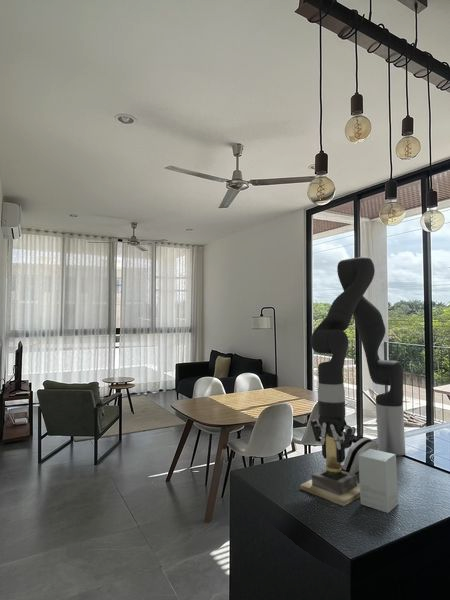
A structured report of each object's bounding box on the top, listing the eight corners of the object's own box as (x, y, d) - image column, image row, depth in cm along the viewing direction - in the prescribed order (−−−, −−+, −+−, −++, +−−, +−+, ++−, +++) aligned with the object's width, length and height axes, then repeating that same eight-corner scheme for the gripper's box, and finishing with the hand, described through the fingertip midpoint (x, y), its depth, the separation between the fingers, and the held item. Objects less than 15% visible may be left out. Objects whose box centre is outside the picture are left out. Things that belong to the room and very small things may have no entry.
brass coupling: (331, 467, 108) (330, 432, 109) (344, 471, 105) (343, 435, 106) (323, 471, 106) (322, 435, 107) (336, 475, 103) (334, 438, 103)
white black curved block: (360, 457, 131) (368, 431, 130) (372, 464, 128) (381, 438, 127) (337, 470, 119) (346, 442, 118) (350, 479, 116) (360, 451, 115)
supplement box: (399, 503, 97) (397, 454, 98) (387, 514, 91) (385, 461, 92) (371, 495, 102) (369, 447, 103) (359, 504, 97) (357, 454, 98)
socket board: (326, 476, 115) (326, 462, 115) (369, 491, 104) (368, 475, 104) (300, 489, 106) (299, 473, 107) (343, 506, 96) (343, 489, 96)
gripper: (360, 400, 104) (363, 463, 103) (318, 394, 115) (320, 451, 114) (346, 404, 99) (348, 470, 98) (303, 397, 110) (305, 456, 109)
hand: (333, 459), depth 106 cm, fingers closed on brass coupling, 4 cm apart
